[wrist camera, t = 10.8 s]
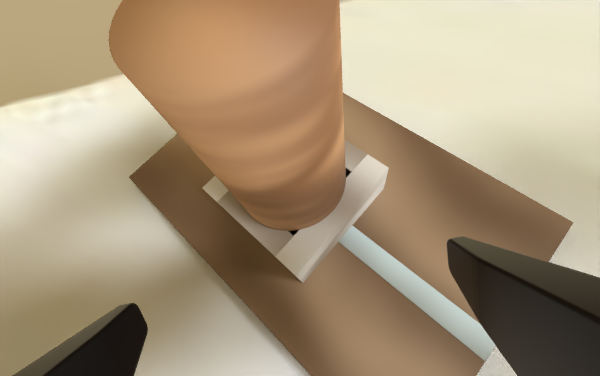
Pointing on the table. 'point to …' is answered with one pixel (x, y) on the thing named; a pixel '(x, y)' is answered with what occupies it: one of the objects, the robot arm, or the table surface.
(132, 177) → the brown board with rail
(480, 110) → the table surface
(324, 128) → the tapered tan cup
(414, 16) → the table surface
